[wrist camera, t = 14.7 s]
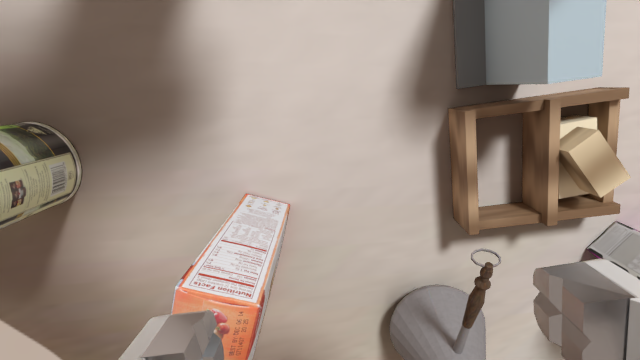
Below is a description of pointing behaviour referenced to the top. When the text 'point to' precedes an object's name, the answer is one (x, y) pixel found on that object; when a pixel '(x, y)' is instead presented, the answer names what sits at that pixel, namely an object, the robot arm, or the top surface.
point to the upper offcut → (591, 161)
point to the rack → (530, 159)
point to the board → (543, 40)
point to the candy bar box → (619, 247)
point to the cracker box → (237, 274)
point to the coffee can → (35, 170)
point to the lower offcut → (565, 180)
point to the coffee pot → (443, 321)
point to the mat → (469, 43)
